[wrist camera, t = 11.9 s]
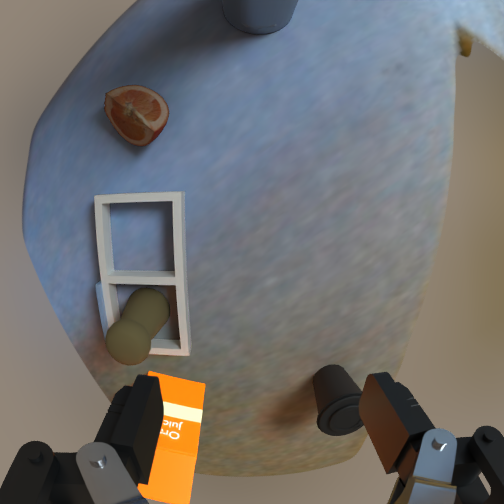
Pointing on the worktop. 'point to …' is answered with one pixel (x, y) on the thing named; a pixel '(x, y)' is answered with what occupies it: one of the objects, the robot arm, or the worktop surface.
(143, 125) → the fruit slice
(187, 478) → the orange juice
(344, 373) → the coffee cup
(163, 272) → the white flat rectangular frame
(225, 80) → the worktop surface
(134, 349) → the olive rounded piece
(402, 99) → the worktop surface
